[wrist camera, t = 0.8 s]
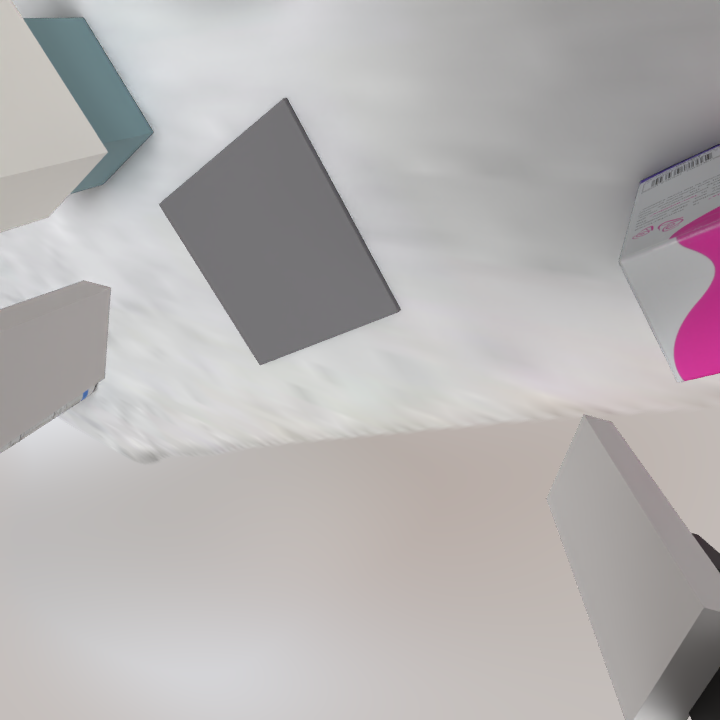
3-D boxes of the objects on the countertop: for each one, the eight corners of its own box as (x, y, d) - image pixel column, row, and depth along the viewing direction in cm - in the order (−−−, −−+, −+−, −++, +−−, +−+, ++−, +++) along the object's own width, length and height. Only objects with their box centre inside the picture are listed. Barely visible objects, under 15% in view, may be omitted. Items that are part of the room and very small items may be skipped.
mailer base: (83, 17, 40) (-114, 19, 30) (153, 132, 42) (-10, 168, 32) (39, 86, 45) (-139, 106, 36) (102, 184, 48) (-49, 228, 38)
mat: (286, 98, 35) (283, 98, 35) (400, 309, 39) (398, 312, 39) (162, 203, 45) (158, 204, 45) (262, 363, 49) (260, 365, 49)
